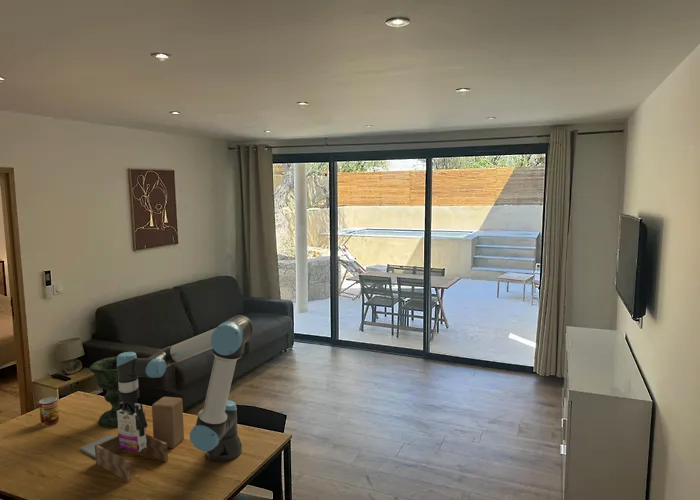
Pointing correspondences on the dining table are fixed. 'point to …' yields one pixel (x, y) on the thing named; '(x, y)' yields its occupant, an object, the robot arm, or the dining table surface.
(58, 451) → the dining table surface
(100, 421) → the goblet
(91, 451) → the slate mat
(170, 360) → the robot arm
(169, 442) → the wooden block
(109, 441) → the brown u-shaped piece
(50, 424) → the canned food
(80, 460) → the dining table surface
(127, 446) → the candy bar box
